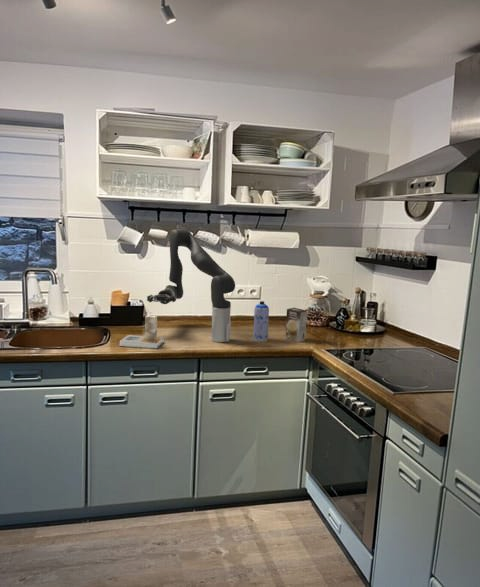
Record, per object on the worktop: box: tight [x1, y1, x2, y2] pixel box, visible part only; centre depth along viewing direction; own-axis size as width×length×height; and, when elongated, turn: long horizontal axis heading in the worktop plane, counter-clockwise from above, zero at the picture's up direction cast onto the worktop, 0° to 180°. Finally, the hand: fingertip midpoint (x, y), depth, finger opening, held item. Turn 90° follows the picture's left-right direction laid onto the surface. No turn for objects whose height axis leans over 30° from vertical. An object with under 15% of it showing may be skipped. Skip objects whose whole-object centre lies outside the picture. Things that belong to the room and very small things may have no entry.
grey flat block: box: [119, 334, 165, 349], centre depth 223 cm, size 18×12×3 cm, turn 84°
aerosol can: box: [252, 300, 270, 342], centre depth 239 cm, size 8×8×20 cm
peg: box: [144, 314, 158, 341], centre depth 222 cm, size 4×4×14 cm
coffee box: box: [284, 307, 308, 343], centre depth 242 cm, size 9×6×16 cm
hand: (158, 300), depth 231 cm, fingers open, 8 cm apart
